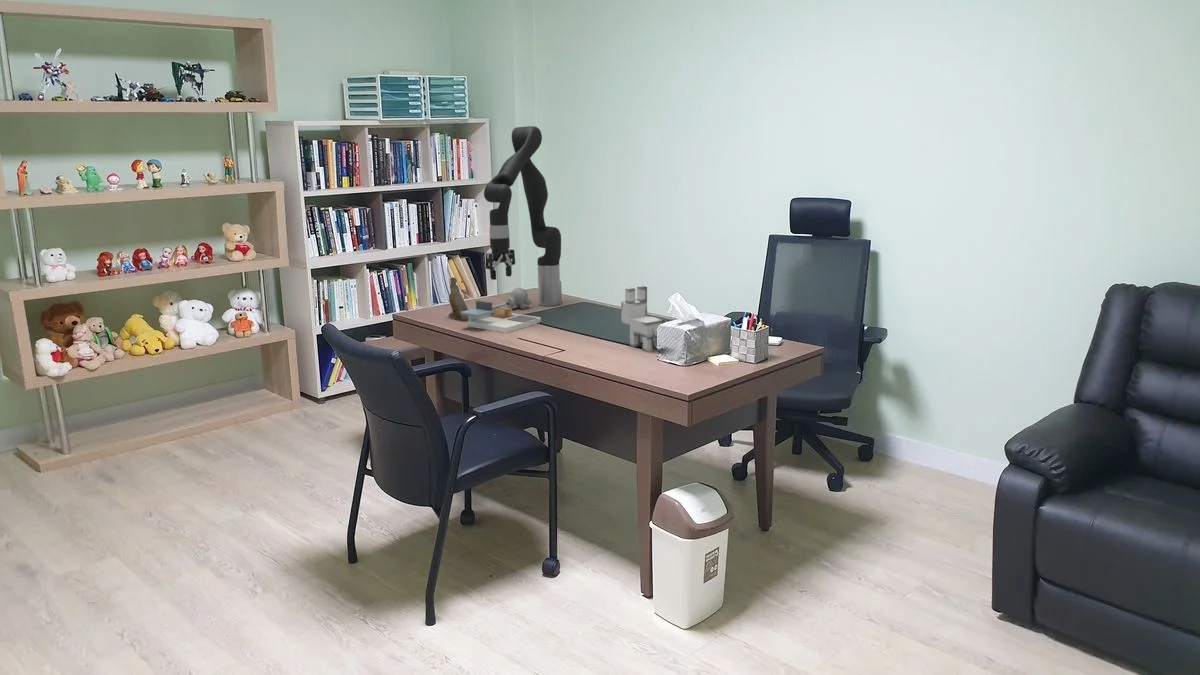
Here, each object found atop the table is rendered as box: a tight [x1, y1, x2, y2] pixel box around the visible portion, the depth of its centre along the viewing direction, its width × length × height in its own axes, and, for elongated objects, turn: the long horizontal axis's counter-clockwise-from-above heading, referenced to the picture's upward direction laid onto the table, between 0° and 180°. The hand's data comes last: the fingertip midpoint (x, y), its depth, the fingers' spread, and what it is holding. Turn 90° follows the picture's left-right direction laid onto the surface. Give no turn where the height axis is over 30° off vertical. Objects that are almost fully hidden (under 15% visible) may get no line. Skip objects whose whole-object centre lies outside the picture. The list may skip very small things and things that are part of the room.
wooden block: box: [494, 307, 513, 319], centre depth 345 cm, size 5×5×5 cm
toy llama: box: [620, 285, 666, 353], centre depth 302 cm, size 8×18×20 cm, turn 34°
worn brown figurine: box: [448, 277, 469, 322], centre depth 350 cm, size 12×6×18 cm, turn 38°
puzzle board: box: [467, 302, 542, 334], centre depth 339 cm, size 20×20×6 cm
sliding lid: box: [461, 300, 494, 317], centre depth 333 cm, size 9×9×4 cm
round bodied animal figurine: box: [504, 287, 532, 310], centre depth 366 cm, size 7×12×8 cm, turn 127°
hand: (501, 277), depth 341 cm, fingers open, 8 cm apart
